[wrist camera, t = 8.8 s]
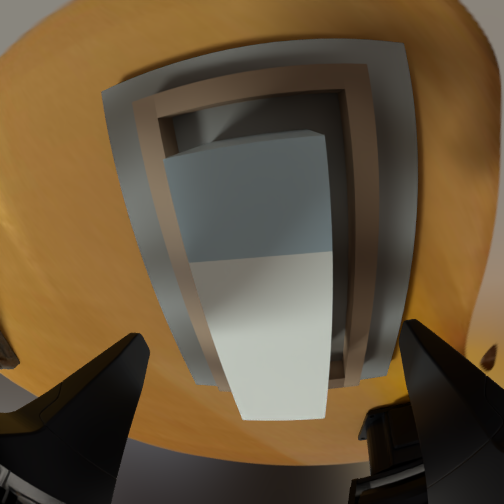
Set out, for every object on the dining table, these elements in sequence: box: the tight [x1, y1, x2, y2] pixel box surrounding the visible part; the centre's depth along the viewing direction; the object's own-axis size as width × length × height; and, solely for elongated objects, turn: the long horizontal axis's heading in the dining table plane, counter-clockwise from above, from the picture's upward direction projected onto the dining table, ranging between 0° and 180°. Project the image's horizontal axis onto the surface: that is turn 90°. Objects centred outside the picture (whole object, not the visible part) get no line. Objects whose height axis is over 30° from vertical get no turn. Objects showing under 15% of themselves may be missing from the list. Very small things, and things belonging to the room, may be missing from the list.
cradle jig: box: [101, 39, 418, 392], centre depth 13 cm, size 20×14×2 cm
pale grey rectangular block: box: [163, 129, 333, 420], centre depth 11 cm, size 12×4×5 cm, turn 8°
